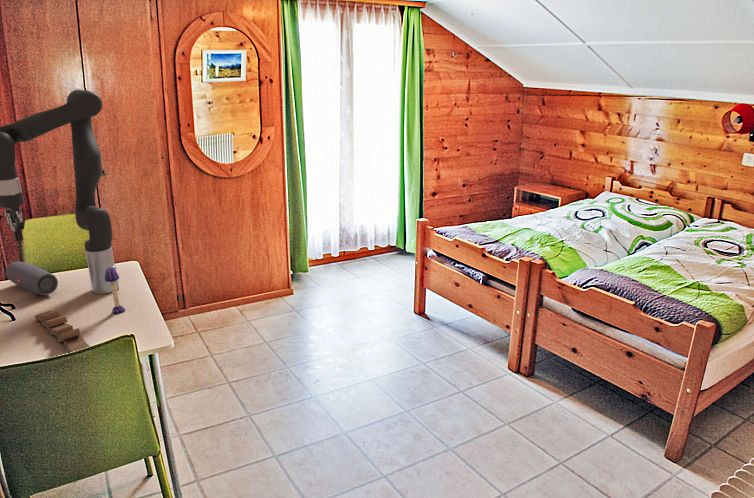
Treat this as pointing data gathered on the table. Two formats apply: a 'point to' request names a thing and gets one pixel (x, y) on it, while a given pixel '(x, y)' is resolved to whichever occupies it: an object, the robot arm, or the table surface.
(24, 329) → the table surface
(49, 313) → the domino
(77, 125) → the robot arm
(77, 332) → the domino
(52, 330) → the domino
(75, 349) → the domino
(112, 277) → the toy lamp
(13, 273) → the bluetooth speaker
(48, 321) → the domino
